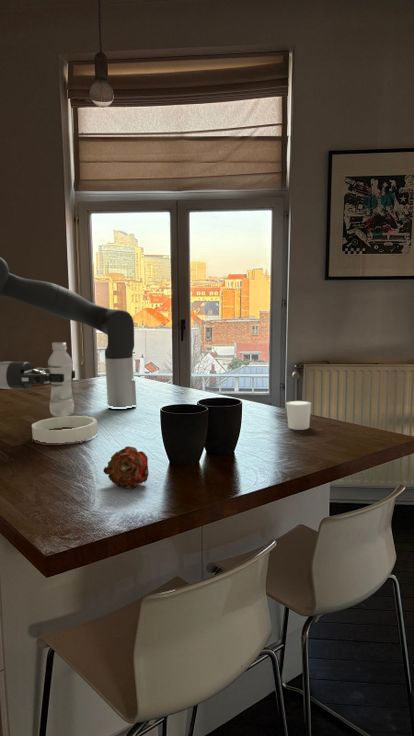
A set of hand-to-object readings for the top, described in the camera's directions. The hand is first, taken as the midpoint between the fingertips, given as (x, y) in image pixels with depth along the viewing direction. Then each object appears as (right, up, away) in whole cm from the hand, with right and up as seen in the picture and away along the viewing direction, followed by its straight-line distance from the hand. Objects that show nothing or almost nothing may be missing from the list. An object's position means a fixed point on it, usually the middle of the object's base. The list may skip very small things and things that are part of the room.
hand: (69, 376), depth 150 cm
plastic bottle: (-2, -11, +2) cm, 11 cm away
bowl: (-2, -17, +3) cm, 17 cm away
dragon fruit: (+21, -22, -37) cm, 48 cm away
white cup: (+63, -14, +6) cm, 64 cm away
